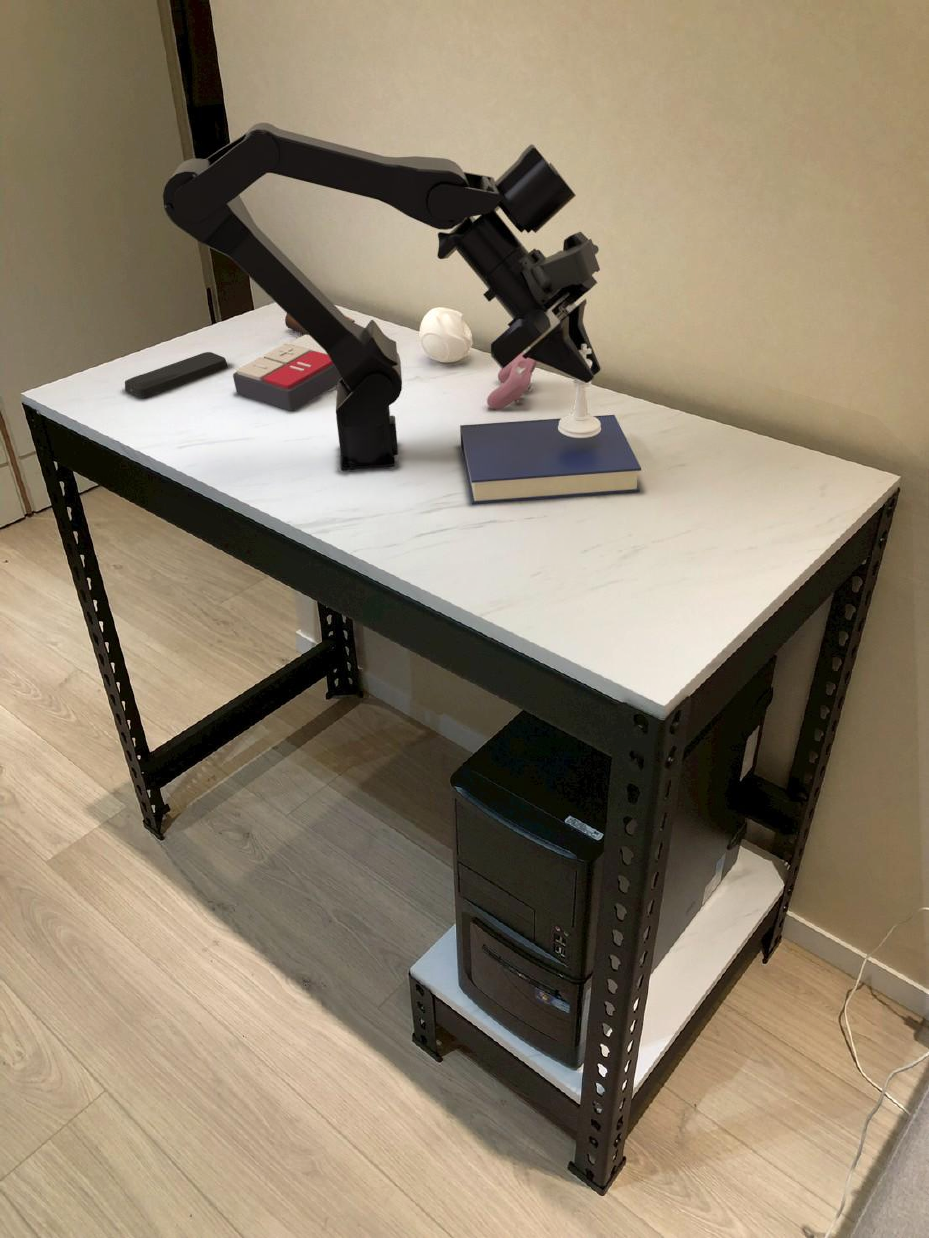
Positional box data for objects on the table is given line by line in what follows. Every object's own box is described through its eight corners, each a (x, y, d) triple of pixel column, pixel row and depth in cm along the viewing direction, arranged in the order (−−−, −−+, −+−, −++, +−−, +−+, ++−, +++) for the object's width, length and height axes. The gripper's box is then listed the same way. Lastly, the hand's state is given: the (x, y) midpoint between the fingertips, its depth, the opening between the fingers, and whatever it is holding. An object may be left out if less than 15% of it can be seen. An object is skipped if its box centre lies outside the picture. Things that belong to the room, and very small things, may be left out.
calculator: (229, 369, 134) (305, 329, 143) (236, 398, 136) (309, 357, 145) (287, 386, 128) (362, 344, 137) (293, 416, 131) (365, 372, 140)
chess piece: (550, 424, 114) (553, 340, 108) (587, 416, 116) (592, 333, 110) (570, 441, 110) (575, 356, 104) (608, 433, 112) (615, 348, 106)
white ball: (472, 370, 140) (471, 317, 135) (419, 372, 140) (416, 319, 135) (473, 349, 146) (471, 298, 142) (422, 351, 146) (419, 299, 142)
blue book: (472, 504, 110) (471, 480, 108) (460, 447, 121) (460, 425, 119) (639, 491, 111) (641, 468, 109) (612, 436, 122) (614, 414, 120)
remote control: (211, 362, 147) (122, 390, 138) (209, 350, 146) (119, 378, 137) (231, 370, 144) (141, 399, 135) (229, 358, 143) (139, 387, 134)
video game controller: (513, 422, 129) (538, 379, 125) (483, 406, 129) (506, 362, 125) (525, 392, 137) (548, 350, 133) (496, 376, 137) (518, 334, 132)
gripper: (520, 238, 94) (622, 365, 96) (584, 192, 107) (672, 305, 110) (448, 309, 101) (545, 425, 104) (516, 258, 115) (600, 362, 117)
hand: (594, 376), depth 109 cm, fingers closed on chess piece
